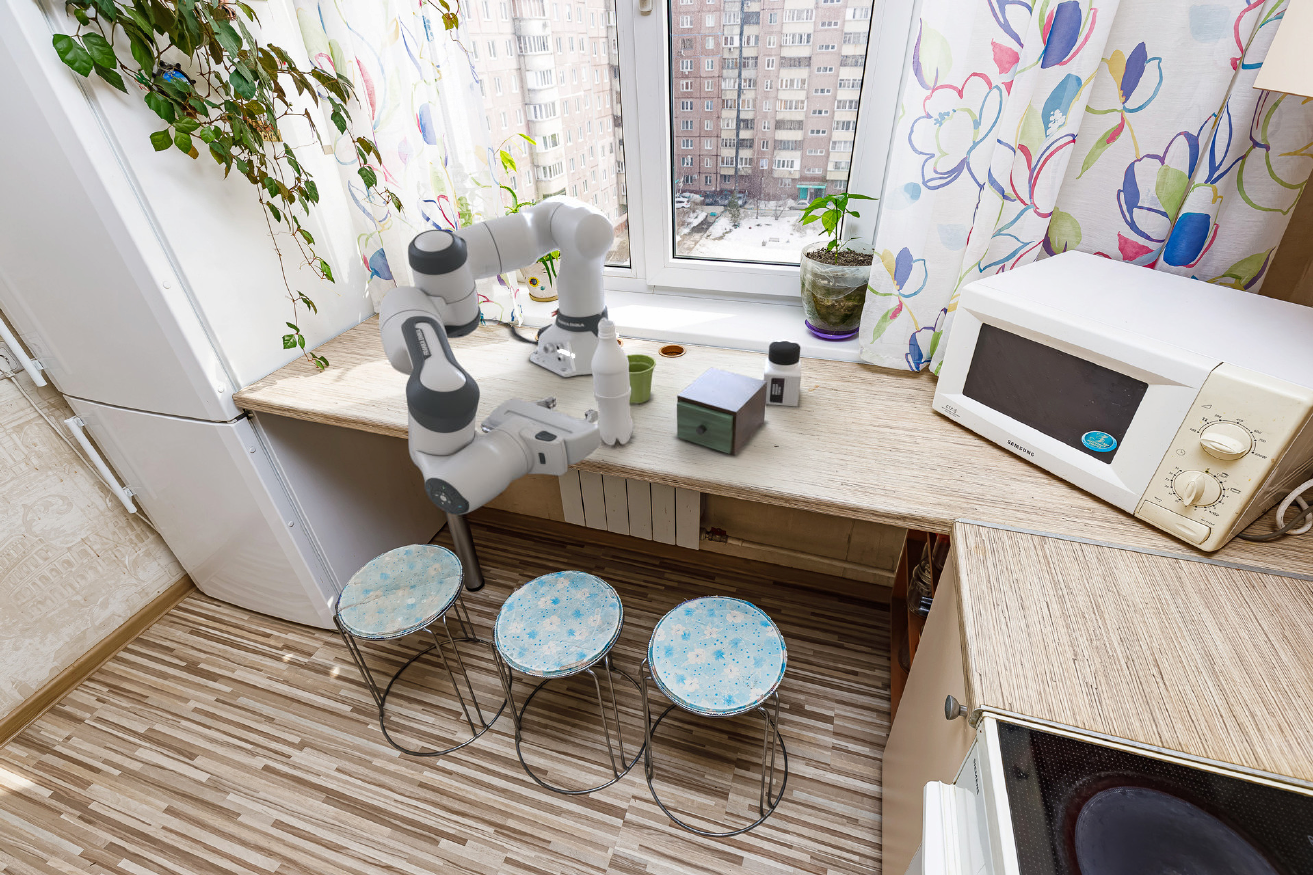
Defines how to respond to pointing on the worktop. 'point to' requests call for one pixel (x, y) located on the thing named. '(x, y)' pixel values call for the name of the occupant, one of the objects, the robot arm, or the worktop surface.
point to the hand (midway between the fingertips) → (573, 406)
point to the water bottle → (612, 386)
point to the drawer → (704, 426)
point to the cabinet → (730, 401)
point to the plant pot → (640, 377)
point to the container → (783, 373)
